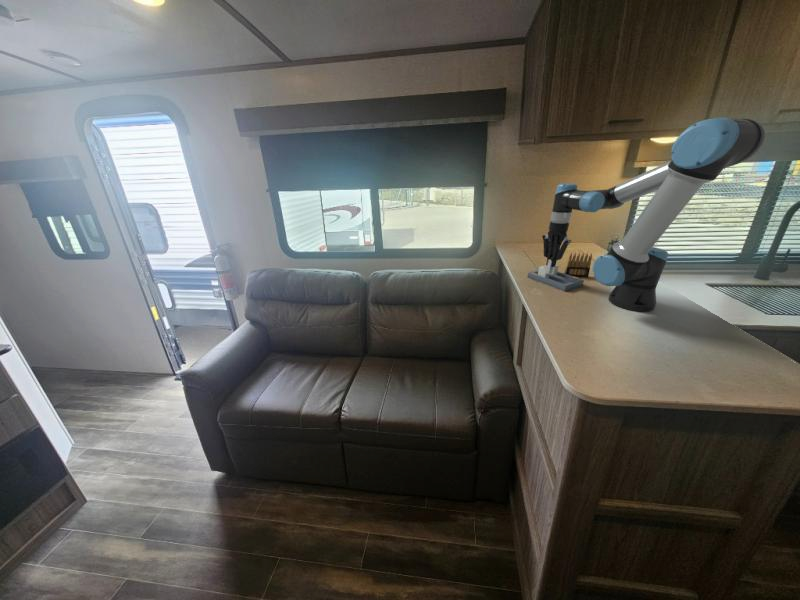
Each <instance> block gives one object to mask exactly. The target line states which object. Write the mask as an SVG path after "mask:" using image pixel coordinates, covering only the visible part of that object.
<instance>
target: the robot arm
mask: <svg viewBox="0 0 800 600" xmlns="http://www.w3.org/2000/svg"><path fill="white" fill-rule="evenodd" d="M765 131H766V130H765V129H764V126H763V125H762V124H761V123H759V122H758V121H757V120H754V119H750V118H730V117H715V118H708V119H704V120H701V121H698V122H696V123H693V124H692V125H690V126H689V127H687V128H686V129H685V130H683V131H682V132H681V133H680V135H678V136H677V138H676V140H675V141H674V143H673V144H672V147H671V152H670V153H671V156H670V157H671V160H670V161H668V162H665V163H663V164H661V165H658V166H656V167H654V168H652V169H649V170H648V171H645V172H643V173H642V174H638V175H636V176H634V177H632V178H629V179H627V180H625V181H623V182H621V183H619V184H617V185H615V186H613V187H610V188H608V189H599V190H598V189H596V190H593V189H592V190H581V189H578V184H576V183H559V184H558V185H557V187H556V190H555V194H554V201H553V205H552V206H553V207H552V210H551V215H550V222H549V225H548V230H549V231H548V232H547V233H546V234H544V235H542V236H541V238H542V240H543V241H542V242H543V257H546V258H547V259H546V262H545V263H546V265H545V266H547V270H546V273H548V274H550V273H553V268H554V267H555V266H556V264H557V261H561V260H562V258H563V257H564V255H565V252H566V250H567V248H568V245H570V243H571V242H572V240H571V239H569V238H568V235H567V233H568V231H569V225H570V221H571V217H572V212H573V210H575V211H581V212H585V213H596V212H598V211H600V210H608V209H609V210H614V209H617V208H620V207H622V206H623V205H624V204H625V203H627V202H628V203H629V202H631V201H633V200H635V199H638V198H640V197H643V196H647V195H648V194H651V193H653V192H655V193H654V194H653V196H652V197H651V198H650V200H649V202H648V203H647V205H646V206H645V207H644V209H643V210H642V212H641V213H640V214H639V216H638V217H637V218H636V220H635V222H634V223H633V224H632V226H631V227H630V228H629V230H628V232H627V233H626V234H625V235H624V237H623V238H622V240H621V241H618V242H615V243H614V244H612V245H611V247H610V248H609V250H608V251H607V253H606V254H602V255H600V256H598V257H597V258H596V259H595V260H594V261H593V264H592V272H593V276H594V278H595V279H596V281H597V282H598V283H600V284H601V285H603V286H605V287H614V288H613V289H612V290H611V292H610V293H609V296H608V301H609V302H610V303H611V304H612V305H613V306H616V307H619V308H621V309H624V310H628V311H634V312H644V313H645V312H652V311H654V310H655V308H656V306H657V294H656V291H657V290H656V289H657V286H658V283H659V281H660V279H661V276H662V273H663V271H664V268H665V266H666V263H667V262H668V256H669V253H668V251H667V250H666V249H662V248H659V247H654V245H656V243H657V242H658V241H659V240H660V238H662V236H663V235H664V233H665V232H666V231H667V230H668V228H669V227H670V226H671V224H673V222H674V221H676V218H677V217H678V216H679V215H680V213H681V212H682V211H683V210H684V208H686V207H687V205H688V204H689V202H690V201H691V200H692V198H694V196H695V195H696V194H697V192H699V190H700V189H701V187H703V185H705V184H708V183H711V182H713V181H715V180H716V178H717V177H718V176H719V175H720V174H721V173H722V172H723V170H724V169H727V168H730V167H734V166H736V165H739V164H741V163H744V162H746V161H747V160H749V159H750V158H752V157H753V156H754V155H755V154H756V153H757V152H758V151H759V150H760V149H761V147H762V146H763V144H764V142H765V138H766V132H765Z"/></svg>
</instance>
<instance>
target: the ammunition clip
mask: <svg viewBox="0 0 800 600" xmlns="http://www.w3.org/2000/svg"><path fill="white" fill-rule="evenodd" d="M592 258H593V253H591V252H590V254H589V253H588V252H587V253H586V254H585V253H584V252H583V253H580V252H579V253H576V252H574V254H573V252H570V254H569V256H568V259H567V262H566V266H565V269H564V272H563V273H564V274H567V275H570V276H574V277H577V278H589V275H590V270H591V264H592Z"/></svg>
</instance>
